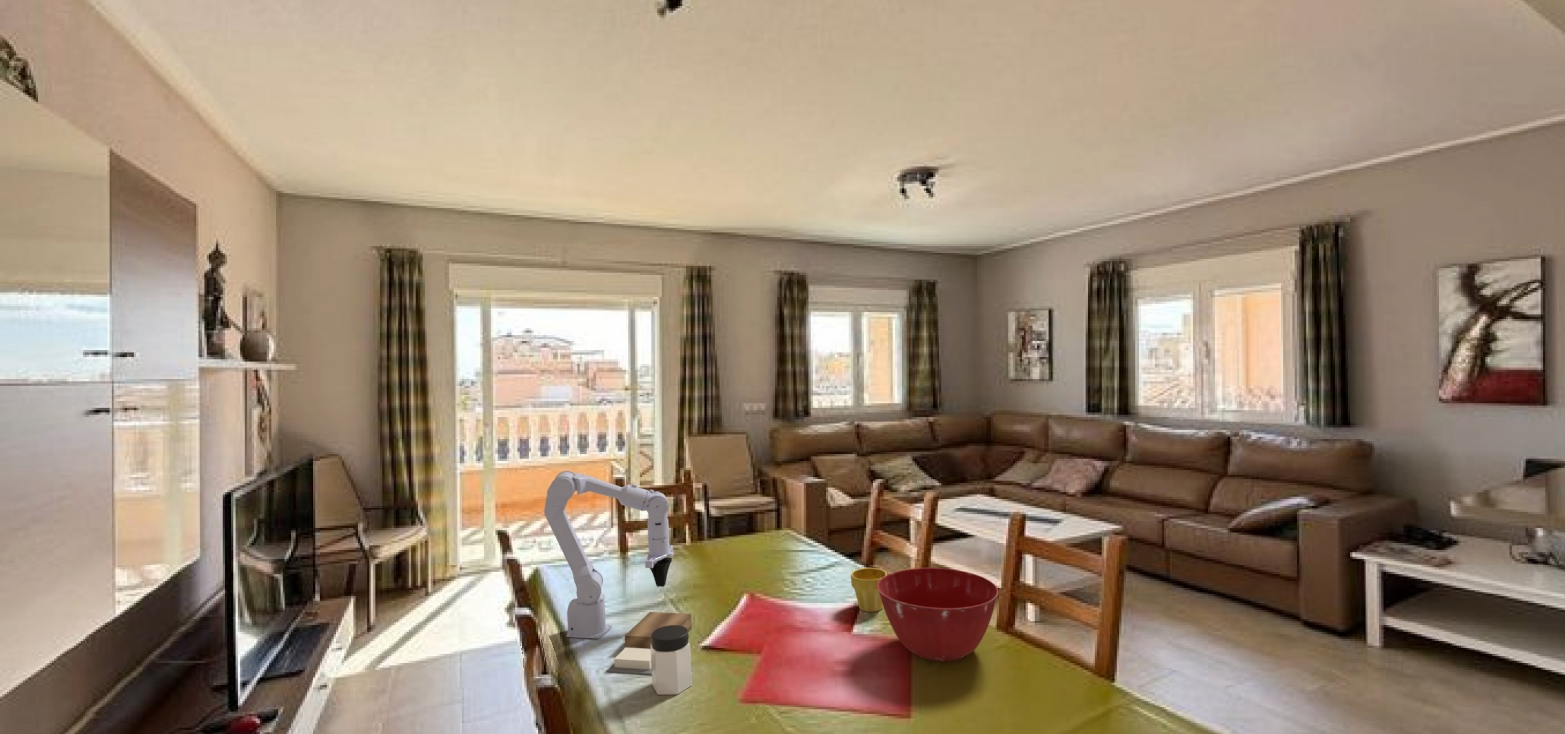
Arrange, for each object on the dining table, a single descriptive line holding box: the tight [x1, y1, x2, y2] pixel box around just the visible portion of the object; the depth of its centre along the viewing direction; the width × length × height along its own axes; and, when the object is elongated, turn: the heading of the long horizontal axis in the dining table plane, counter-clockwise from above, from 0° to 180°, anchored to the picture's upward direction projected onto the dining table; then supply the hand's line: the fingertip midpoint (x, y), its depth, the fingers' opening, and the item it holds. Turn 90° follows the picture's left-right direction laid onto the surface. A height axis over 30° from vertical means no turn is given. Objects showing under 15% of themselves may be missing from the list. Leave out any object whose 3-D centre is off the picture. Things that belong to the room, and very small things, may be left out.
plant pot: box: [850, 567, 888, 613], centre depth 181 cm, size 10×10×10 cm
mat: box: [606, 663, 652, 676], centre depth 153 cm, size 12×10×1 cm
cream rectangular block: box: [613, 647, 652, 670], centre depth 153 cm, size 9×6×2 cm, turn 78°
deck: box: [624, 611, 693, 649], centre depth 166 cm, size 12×15×4 cm
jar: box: [650, 625, 693, 696], centre depth 142 cm, size 9×8×12 cm
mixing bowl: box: [877, 567, 999, 662], centre depth 154 cm, size 28×28×15 cm
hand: (660, 585), depth 176 cm, fingers closed
